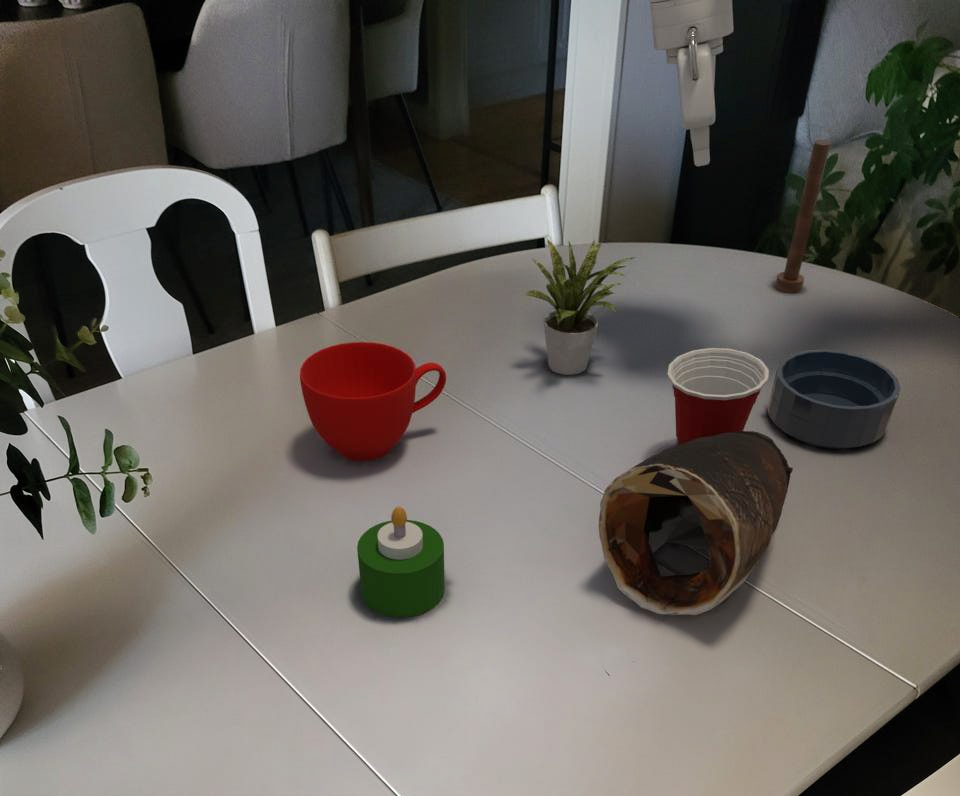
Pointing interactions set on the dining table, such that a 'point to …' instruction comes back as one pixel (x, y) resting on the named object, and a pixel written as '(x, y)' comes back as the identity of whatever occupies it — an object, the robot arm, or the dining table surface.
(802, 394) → the bowl
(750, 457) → the brown hollow cylinder
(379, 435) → the ceramic cup
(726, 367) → the plastic cup
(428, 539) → the candle
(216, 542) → the dining table surface
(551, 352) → the house plant
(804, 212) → the stirring stick
